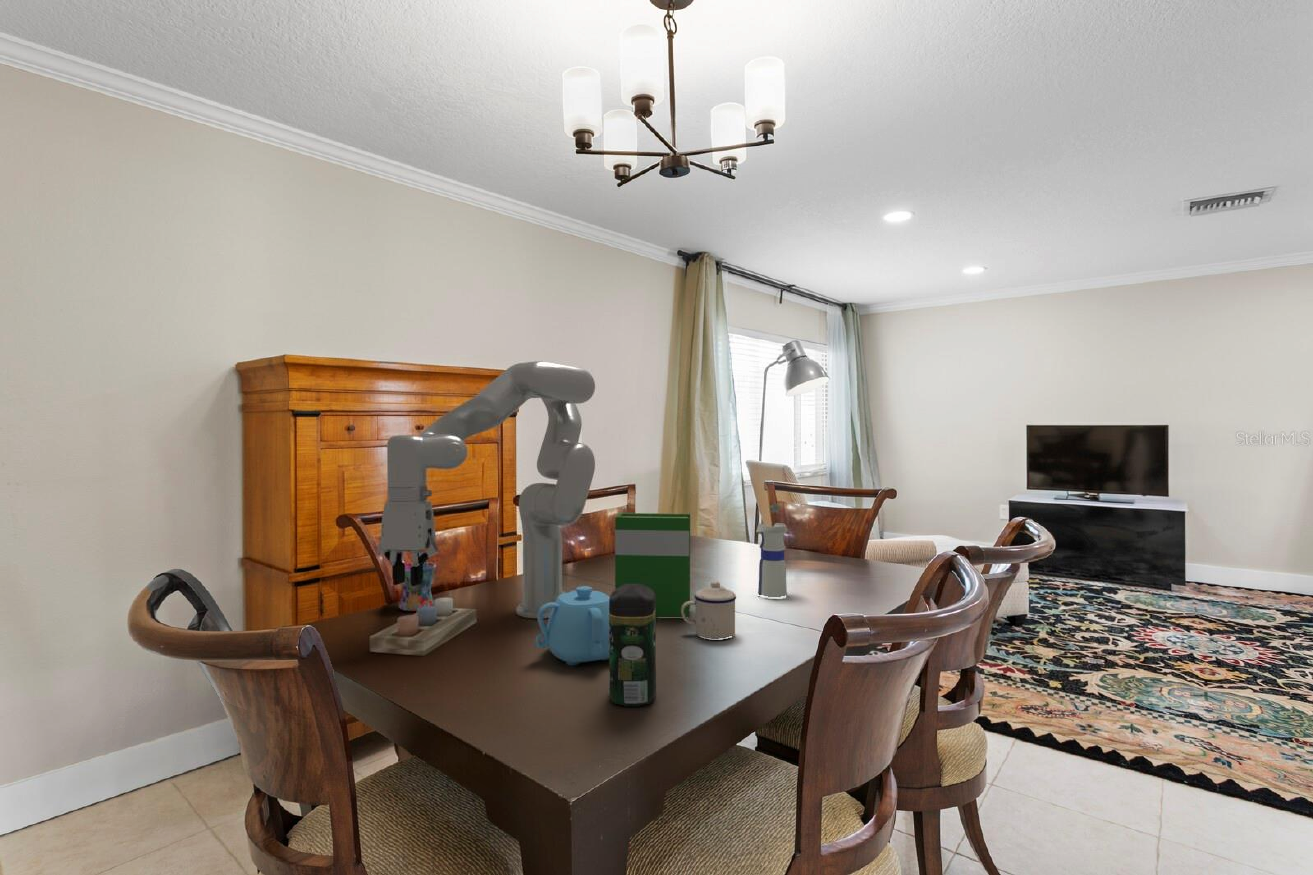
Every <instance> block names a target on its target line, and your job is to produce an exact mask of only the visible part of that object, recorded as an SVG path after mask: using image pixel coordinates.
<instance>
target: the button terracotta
mask: <svg viewBox="0 0 1313 875" xmlns="http://www.w3.org/2000/svg"><path fill="white" fill-rule="evenodd" d="M397 623H398V636H402V637H413V636H415V635H417V634H418V616H416V615H414V614H408V615H402V616H399V617H398V618H397Z"/></svg>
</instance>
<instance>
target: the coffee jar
mask: <svg viewBox="0 0 1313 875" xmlns="http://www.w3.org/2000/svg"><path fill="white" fill-rule="evenodd" d="M609 597H610V599H609V660H608V661H609V664H608V665H609V699H610V701H611V702H612V703H614V704H616V705H619V706H623V707H627V706H637V707H639V706H643V705H644V706H645V705H648V704H649V705H650V704H651V703H652V702H653V700H654V699H655V696H656V693H657V665H656V664H657V663H656V661H657V660H656V659H657V658H656V655H657V652H656V648H657V646H656V644H657V643H656V642H657V641H656V638H657V636H656V624H657V623H656V620H657V618H656V614H655V597H656V596H655V593H654V591H653V590H652V589H650V588H649V587H647V586H646V585H645V584H623V585H622V586H620V587H619V588H617V589H615V588H614V590H613V591H612V592H611V594H610V595H609Z"/></svg>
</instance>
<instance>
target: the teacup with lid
mask: <svg viewBox="0 0 1313 875" xmlns="http://www.w3.org/2000/svg"><path fill="white" fill-rule="evenodd" d="M694 599H695V600H690V601H688V602H685V603H684V604H683V605H682V608H681V614H682V617H683V619H682V620H684V621H685V622H686V624H690V625H694V626H695V628H694V629H695V632H696V633H695V635H696V634H697V635H698V636H702V637H705V638H711V639H719V638H726V637H729V636H733V635H734V634H735V635H736V599H737V596H736V592H734V591H732V590H730V589H727V588H725V587H724V586H723V585H722V586H721V583H720V581H716V580H715V581H714V580H713V581H711V582H710V585H708V586H706V587H705V588H701V589H698V590H697V591H695V594H694ZM688 605H690V606H695V617H694V618H695V620H693V619H690V618H689V619H688V618H687V617H686V615H685V613H684V609H685V607H686V606H688ZM697 635H696V636H697ZM735 635H734V636H735ZM698 636H697V637H698Z"/></svg>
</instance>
